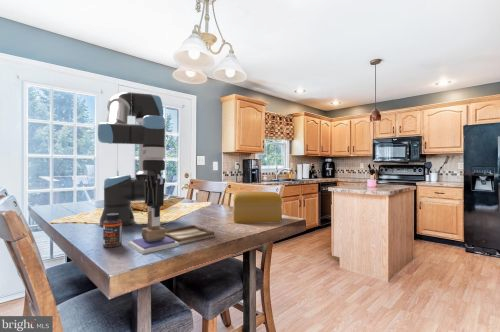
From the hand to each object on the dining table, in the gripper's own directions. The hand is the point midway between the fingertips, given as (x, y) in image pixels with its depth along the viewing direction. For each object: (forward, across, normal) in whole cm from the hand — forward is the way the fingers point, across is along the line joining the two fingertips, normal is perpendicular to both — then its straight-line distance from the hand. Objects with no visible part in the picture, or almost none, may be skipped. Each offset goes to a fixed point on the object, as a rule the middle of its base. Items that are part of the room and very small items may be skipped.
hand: (153, 224), depth 94 cm
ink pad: (+7, 0, 0) cm, 7 cm away
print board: (+7, -3, +15) cm, 17 cm away
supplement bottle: (+8, -10, -11) cm, 16 cm away
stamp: (+5, 0, 0) cm, 5 cm away
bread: (+8, -6, +58) cm, 58 cm away
